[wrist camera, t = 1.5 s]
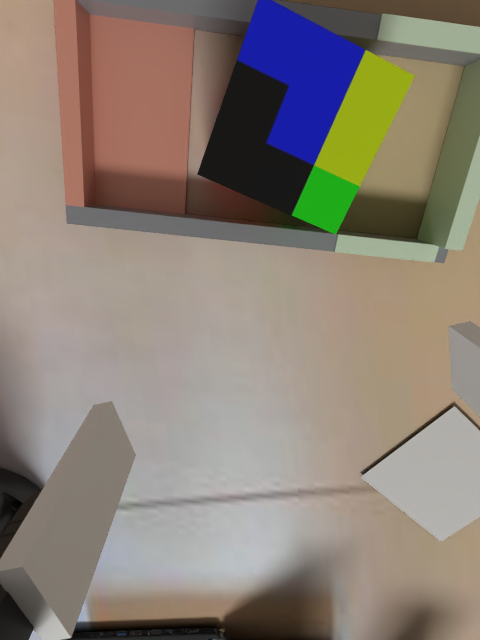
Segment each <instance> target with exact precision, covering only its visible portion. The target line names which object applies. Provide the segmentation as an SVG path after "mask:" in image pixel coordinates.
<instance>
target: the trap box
mask: <svg viewBox="0 0 480 640" xmlns="http://www.w3.org/2000/svg"><path fill="white" fill-rule="evenodd" d="M257 1H258V0H53V2H54V18H55V35H56V51H57V68H58V84H59V100H60V117H61V133H62V150H63V166H64V182H65V199H66V215H67V224H76V225H86V226H95V227H105V228H115V229H124V230H134V231H143V232H153V233H162V234H172V235H181V236H191V237H200V238H210V239H219V240H229V241H239V242H248V243H258V244H267V245H277V246H286V247H296V248H305V249H315V250H324V251H334V252H339V253H348V254H358V255H367V256H377V257H386V258H396V259H405V260H415V261H425V262H439V263H444V262H445V259H446V255H447V252H448V249H451V250H461V251H462V250H463V247H464V244H465V241H466V238H467V235H468V232H469V229H470V226H471V223H472V219H473V216H474V213H475V210H476V207H477V204H478V201H479V198H480V27H476V26H469V25H462V24H455V23H448V22H441V21H434V20H427V19H420V18H412V17H405V16H398V15H391V14H384V13H382V14H374V13H367V12H360V11H353V10H346V9H339V8H331V7H324V6H317V5H310V4H303V3H296V2H289V1H282V0H273V1H274V2H276V3H278V4H280V5H282V6H284V7H286V8H288V9H290V10H291V11H293V12H295V13H297V14H299V15H301V16H303V17H305V18H307V19H308V20H310V21H312V22H314V23H316V24H318V25H320V26H322V27H324V28H326V29H327V30H329V31H331V32H333V33H335V34H337V35H339V36H341V37H343V38H344V39H346V40H348V41H350V42H352V43H354V44H356V45H358V46H360V47H361V48H363V49H365V50H367V51H369V52H371V53H373V54H379V55H387V56H394V57H402V58H409V59H416V60H424V61H431V62H439V63H446V64H453V65H461V66H465V68H464V72H463V75H462V79H461V82H460V86H459V90H458V93H457V97H456V100H455V104H454V108H453V111H452V115H451V118H450V122H449V126H448V129H447V133H446V136H445V140H444V144H443V147H442V151H441V154H440V158H439V162H438V165H437V169H436V172H435V176H434V180H433V183H432V187H431V190H430V194H429V198H428V201H427V205H426V208H425V212H424V216H423V219H422V223H421V227H420V230H419V234H418V237H417V239H413V238H404V237H395V236H386V235H376V234H367V233H358V232H349V231H339V230H338V231H337V233H336V234H333V233H331V232H329V231H326V230H324V229H321V228H312V227H302V226H293V225H284V224H275V223H265V222H256V221H247V220H238V219H228V218H219V217H210V216H201V215H191V214H185V205H186V186H187V166H188V146H189V127H190V107H191V88H192V68H193V49H194V30H202V31H209V32H217V33H224V34H231V35H239V36H245V35H246V32H247V30H248V27H249V24H250V21H251V18H252V15H253V12H254V9H255V6H256V4H257Z"/></svg>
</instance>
